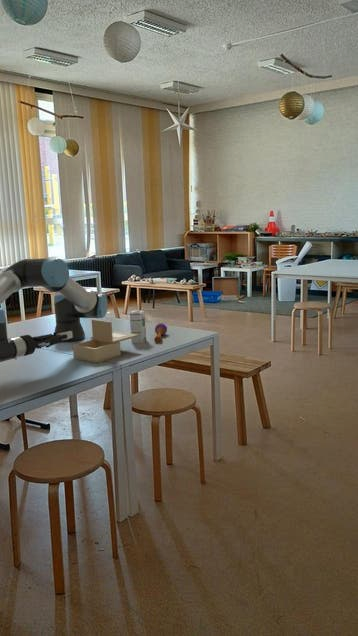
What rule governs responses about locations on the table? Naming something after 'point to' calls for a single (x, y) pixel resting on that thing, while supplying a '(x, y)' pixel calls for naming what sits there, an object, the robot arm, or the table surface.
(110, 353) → the box
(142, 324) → the syrup box
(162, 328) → the kendama
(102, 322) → the lid
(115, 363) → the table surface
